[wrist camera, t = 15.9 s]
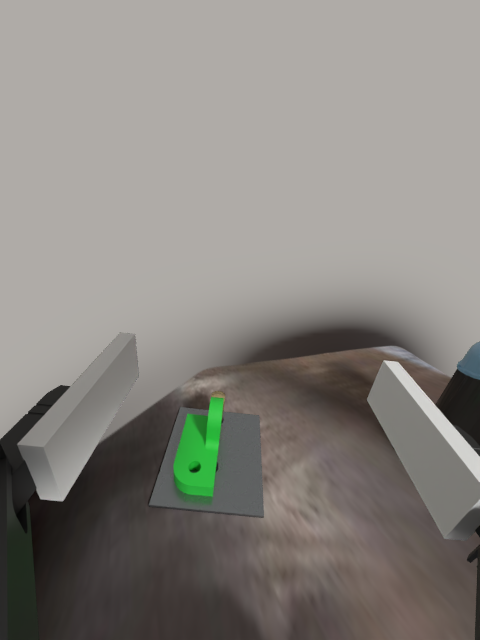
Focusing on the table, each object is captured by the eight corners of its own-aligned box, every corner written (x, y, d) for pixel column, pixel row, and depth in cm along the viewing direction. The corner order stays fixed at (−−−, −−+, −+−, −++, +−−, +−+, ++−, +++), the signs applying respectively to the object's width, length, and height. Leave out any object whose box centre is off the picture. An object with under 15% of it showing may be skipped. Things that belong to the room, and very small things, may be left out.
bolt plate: (258, 417, 49) (263, 392, 46) (263, 517, 34) (270, 490, 31) (180, 408, 49) (180, 383, 46) (148, 506, 33) (146, 478, 31)
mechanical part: (187, 421, 46) (188, 386, 42) (221, 425, 46) (224, 390, 42) (168, 492, 35) (167, 453, 31) (212, 496, 35) (216, 458, 31)
